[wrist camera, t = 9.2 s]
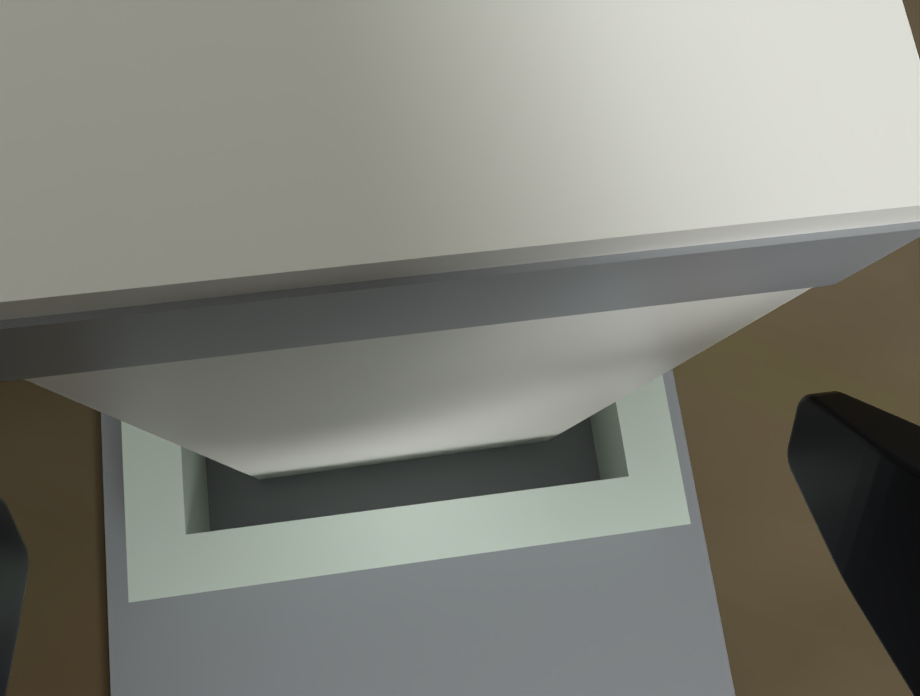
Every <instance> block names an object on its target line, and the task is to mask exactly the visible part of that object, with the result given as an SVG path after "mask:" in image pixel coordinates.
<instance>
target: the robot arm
mask: <svg viewBox="0 0 920 696" xmlns="http://www.w3.org/2000/svg"><path fill="white" fill-rule="evenodd" d="M788 463H789V466H790V469H791V472H792V474H793V476H794V478H795V480H796V482H797V484H798V486H799V489H800V491H801V493H802V495H803V497H804V499H805V501H806V503H807V505H808V508H809V510H810V512H811V514H812V516H813V518H814V520H815V522H816V524H817V527H818V529H819V531H820V533H821V535H822V537H823V539H824V541H825V544H826V546H827V548H828V550H829V552H830V554H831V556H832V558H833V560H834V562H835V564H836V566H837V568H838V570H839V572H840V574H841V576H842V578H843V580H844V581H845V583H846V585H847V586H848V588H849V590H850V592H851V593H852V595H853V597H854V598H855V600H856V602H857V603H858V605H859V607H860V608H861V610H862V612H863V613H864V615H865V616H866V618H867V620H868V621H869V623H870V625H871V626H872V628H873V630H874V631H875V633H876V635H877V636H878V638H879V639H880V641H881V643H882V644H883V646H884V648H885V649H886V651H887V653H888V654H889V656H890V657H891V659H892V661H893V662H894V664H895V666H896V667H897V669H898V671H899V672H900V674H901V675H902V677H903V679H904V680H905V682H906V684H907V685H908V687H909V689H910V690H911V692H912V693H913V695H914V696H920V426H918V425H916V424H913V423H911V422H909V421H907V420H904V419H902V418H900V417H897V416H895V415H893V414H890V413H888V412H886V411H883V410H881V409H879V408H876V407H874V406H872V405H869V404H867V403H865V402H862V401H860V400H858V399H855V398H853V397H851V396H848V395H846V394H844V393H841V392H837V391H831V392H823V393H815V394H808V395H806V396H804V397H803V398H802V399H801V400H800V402H799V404H798V407H797V411H796V415H795V419H794V424H793V428H792V432H791V436H790V441H789V445H788ZM28 573H29V557H28V552H27V549H26V546H25V544H24V542H23V540H22V537H21V535H20V533H19V531H18V528H17V526H16V524H15V521H14V519H13V517H12V515H11V512H10V510H9V508H8V506H7V504H6V503H5V501H4V500H3V499H2V498H0V696H6V692H7V687H8V682H9V677H10V671H11V666H12V660H13V655H14V649H15V644H16V639H17V633H18V628H19V622H20V617H21V611H22V606H23V600H24V595H25V589H26V584H27V579H28Z"/></svg>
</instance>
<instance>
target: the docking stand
mask: <svg viewBox="0 0 920 696" xmlns="http://www.w3.org/2000/svg"><path fill="white" fill-rule="evenodd" d="M101 432H102V460H103V488H104V517H105V545H106V573H107V601H108V629H109V658H110V686H111V696H735V692H734V687H733V681H732V676H731V671H730V666H729V661H728V655H727V650H726V645H725V640H724V635H723V630H722V624H721V619H720V614H719V609H718V604H717V598H716V593H715V588H714V583H713V578H712V573H711V567H710V562H709V557H708V552H707V547H706V541H705V536H704V531H703V526H702V521H701V515H700V510H699V505H698V500H697V495H696V490H695V484H694V479H693V474H692V469H691V464H690V458H689V453H688V448H687V443H686V438H685V432H684V427H683V422H682V417H681V412H680V407H679V401H678V396H677V391H676V386H675V381H674V375H673V370H672V369H671V370H669V371H667V372H666V373H664V374H662V375H661V376H659V377H657V378H655V379H654V380H652V381H650V382H648V383H647V384H645V385H643V386H642V387H640V388H638V389H636V390H635V391H633V392H631V393H630V394H628V395H626V396H624V397H623V398H621V399H619V400H617V401H616V402H614V403H612V404H611V405H609V406H607V407H605V408H604V409H602V410H600V411H599V412H597V413H595V414H593V415H592V416H590V417H588V418H586V419H585V420H583V421H581V422H580V423H578V424H576V425H574V426H573V427H571V428H569V429H567V430H566V431H564V432H562V433H561V434H559V435H557V436H555V437H554V438H552V439H550V440H549V441H542V442H535V443H527V444H520V445H512V446H505V447H497V448H490V449H483V450H475V451H468V452H460V453H453V454H446V455H438V456H431V457H423V458H416V459H408V460H401V461H394V462H386V463H379V464H371V465H364V466H357V467H349V468H342V469H334V470H327V471H319V472H312V473H305V474H297V475H290V476H282V477H275V478H268V479H260V480H259V479H257V478H255V477H252V476H250V475H248V474H245V473H243V472H240V471H238V470H236V469H233V468H231V467H229V466H226V465H224V464H222V463H219V462H217V461H215V460H212V459H210V458H208V457H205V456H203V455H200V454H198V453H196V452H193V451H191V450H189V449H186V448H184V447H182V446H179V445H177V444H175V443H172V442H170V441H167V440H165V439H163V438H160V437H158V436H156V435H153V434H151V433H149V432H146V431H144V430H142V429H139V428H137V427H135V426H132V425H130V424H127V423H125V422H123V421H120V420H118V419H116V418H113V417H111V416H109V415H106V414H104V413H102V412H101Z"/></svg>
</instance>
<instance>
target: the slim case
mask: <svg viewBox="0 0 920 696" xmlns="http://www.w3.org/2000/svg"><path fill="white" fill-rule="evenodd" d="M919 237H920V60H919V56H918V53H917V49H916V46H915V43H914V39H913V36H912V33H911V29H910V26H909V22H908V19H907V16H906V12H905V9H904V5H903V2H902V0H0V381H2V382H4V381H12V380H21V379H24V380H26V381H29V382H31V383H33V384H36V385H38V386H40V387H43V388H45V389H47V390H50V391H52V392H55V393H57V394H59V395H62V396H64V397H66V398H69V399H71V400H73V401H76V402H78V403H80V404H83V405H85V406H87V407H90V408H92V409H95V410H97V411H99V412H102V413H104V414H106V415H109V416H111V417H113V418H116V419H118V420H120V421H123V422H125V423H127V424H130V425H132V426H135V427H137V428H139V429H142V430H144V431H146V432H149V433H151V434H153V435H156V436H158V437H160V438H163V439H165V440H167V441H170V442H172V443H175V444H177V445H179V446H182V447H184V448H186V449H189V450H191V451H193V452H196V453H198V454H200V455H203V456H205V457H208V458H210V459H212V460H215V461H217V462H219V463H222V464H224V465H226V466H229V467H231V468H233V469H236V470H238V471H240V472H243V473H245V474H248V475H250V476H252V477H255V478H257V479H259V480H260V479H268V478H275V477H282V476H290V475H297V474H305V473H312V472H319V471H327V470H334V469H342V468H349V467H357V466H364V465H371V464H379V463H386V462H394V461H401V460H408V459H416V458H423V457H431V456H438V455H446V454H453V453H460V452H468V451H475V450H483V449H490V448H497V447H505V446H512V445H520V444H527V443H535V442H542V441H549V440H550V439H552V438H554V437H555V436H557V435H559V434H561V433H562V432H564V431H566V430H567V429H569V428H571V427H573V426H574V425H576V424H578V423H580V422H581V421H583V420H585V419H586V418H588V417H590V416H592V415H593V414H595V413H597V412H599V411H600V410H602V409H604V408H605V407H607V406H609V405H611V404H612V403H614V402H616V401H617V400H619V399H621V398H623V397H624V396H626V395H628V394H630V393H631V392H633V391H635V390H636V389H638V388H640V387H642V386H643V385H645V384H647V383H648V382H650V381H652V380H654V379H655V378H657V377H659V376H661V375H662V374H664V373H666V372H667V371H669V370H671V369H673V368H674V367H676V366H678V365H680V364H681V363H683V362H685V361H686V360H688V359H690V358H692V357H693V356H695V355H697V354H698V353H700V352H702V351H704V350H705V349H707V348H709V347H711V346H712V345H714V344H716V343H717V342H719V341H721V340H723V339H724V338H726V337H728V336H729V335H731V334H733V333H735V332H736V331H738V330H740V329H742V328H743V327H745V326H747V325H748V324H750V323H752V322H754V321H755V320H757V319H759V318H761V317H762V316H764V315H766V314H767V313H769V312H771V311H773V310H774V309H776V308H778V307H779V306H781V305H783V304H785V303H786V302H788V301H790V300H792V299H793V298H795V297H797V296H798V295H800V294H802V293H804V292H805V291H807V290H809V289H810V288H812V287H820V286H828V285H834V284H836V283H838V282H840V281H842V280H843V279H845V278H847V277H849V276H850V275H852V274H854V273H856V272H858V271H859V270H861V269H863V268H865V267H867V266H868V265H870V264H872V263H874V262H876V261H877V260H879V259H881V258H883V257H885V256H886V255H888V254H890V253H892V252H893V251H895V250H897V249H899V248H901V247H902V246H904V245H906V244H908V243H910V242H911V241H913V240H915V239H917V238H919Z"/></svg>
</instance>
